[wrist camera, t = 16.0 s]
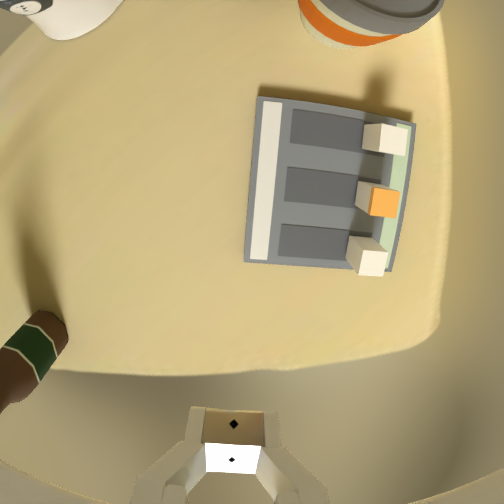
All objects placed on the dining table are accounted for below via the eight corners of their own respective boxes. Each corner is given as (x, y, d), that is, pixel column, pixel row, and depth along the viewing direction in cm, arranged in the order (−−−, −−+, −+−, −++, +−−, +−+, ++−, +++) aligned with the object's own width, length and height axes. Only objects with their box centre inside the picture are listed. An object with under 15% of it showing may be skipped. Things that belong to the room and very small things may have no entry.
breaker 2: (349, 235, 36) (363, 250, 32) (372, 237, 36) (388, 252, 32) (345, 258, 37) (358, 275, 33) (367, 259, 37) (382, 276, 33)
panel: (257, 97, 33) (257, 95, 31) (410, 124, 34) (416, 123, 32) (243, 257, 39) (243, 262, 38) (387, 267, 40) (391, 272, 38)
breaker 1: (364, 124, 32) (381, 123, 27) (387, 129, 32) (407, 129, 27) (361, 148, 33) (378, 151, 28) (385, 153, 33) (405, 156, 28)
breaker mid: (358, 180, 34) (374, 187, 29) (381, 184, 34) (400, 192, 30) (354, 204, 35) (370, 215, 30) (377, 207, 35) (395, 218, 30)
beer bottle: (34, 300, 41) (-57, 395, 19) (73, 323, 42) (-8, 435, 20) (30, 334, 44) (-44, 427, 21) (67, 356, 45) (1, 461, 22)
